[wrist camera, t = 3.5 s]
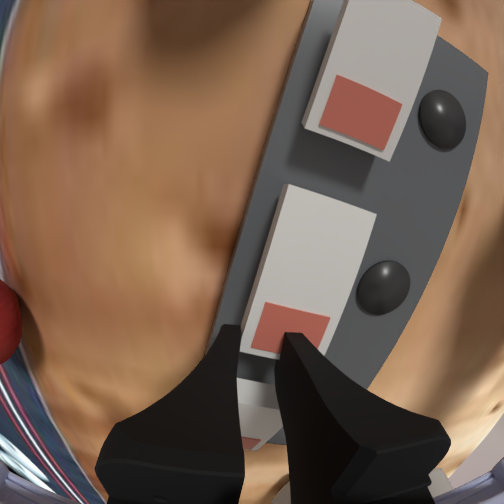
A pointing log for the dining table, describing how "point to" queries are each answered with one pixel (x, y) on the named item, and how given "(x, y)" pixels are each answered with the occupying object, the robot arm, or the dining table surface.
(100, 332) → the dining table surface
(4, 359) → the onion
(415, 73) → the rocker
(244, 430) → the rocker
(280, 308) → the rocker middle
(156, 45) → the dining table surface
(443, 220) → the power strip
